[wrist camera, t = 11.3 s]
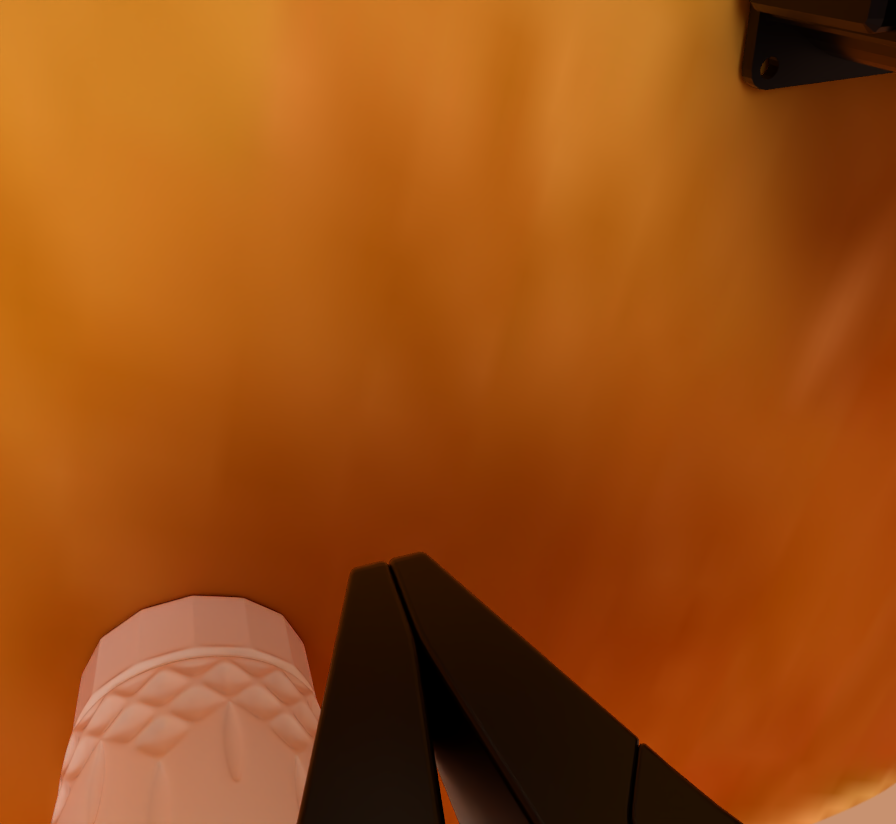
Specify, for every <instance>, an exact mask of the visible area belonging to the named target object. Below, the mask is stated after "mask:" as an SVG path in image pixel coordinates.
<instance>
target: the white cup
mask: <svg viewBox="0 0 896 824" xmlns="http://www.w3.org/2000/svg"><path fill="white" fill-rule="evenodd" d="M320 711H321V709H320V707H319V704H318V702H317V699H316V696H315V691H314V686H313V682H312V677H311V673H310V668H309V664H308V660H307V655H306V651H305V647H304V644H303V642H302V641H301V639H300V638H299V636H298V635H297V634H296V632H295V631H294V630H293V628H292V627H291V626H290V624H289V623H288V622H287V620H286V619H285V617H284V616H283V615H282V614H280V613H277V612H275V611H273V610H270V609H268V608H266V607H264V606H261V605H259V604H257V603H254V602H252V601H250V600H248V599H245V598H241V597H221V596H195V595H194V596H189V597H185V598H181V599H178V600H174V601H170V602H167V603H163V604H160V605H156V606H153V607H149V608H146V609H142V610H140V611H139V612H137V613H136V614H135V615H133V616H132V617H130V618H129V619H127V620H126V621H125V622H123V623H122V624H120V625H119V626H117V627H116V628H115V629H113V630H112V631H110V632H109V633H107V634H106V635H105V636H103V637H102V638H101V639H100V641H99V643H98V645H97V647H96V649H95V651H94V653H93V654H92V656H91V658H90V660H89V662H88V664H87V666H86V668H85V669H84V671H83V673H82V677H81V682H80V688H79V694H78V700H77V706H76V712H75V719H74V725H73V732H72V735H71V737H70V740H69V744H68V747H67V750H66V754H65V758H64V762H63V766H62V770H61V775H60V782H59V790H58V797H57V801H56V805H55V809H54V813H53V817H52V821H51V824H297V819H298V815H299V810H300V805H301V801H302V796H303V791H304V786H305V782H306V777H307V772H308V768H309V763H310V758H311V754H312V749H313V744H314V740H315V735H316V730H317V725H318V721H319V716H320Z"/></svg>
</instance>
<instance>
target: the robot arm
mask: <svg viewBox="0 0 896 824" xmlns="http://www.w3.org/2000/svg"><path fill="white" fill-rule="evenodd" d="M750 2H751V6H750V13H749V21H748V28H747V35H746V42H745V49H744V57H743V64H742V76H743V79H744V81H745V82H746V83H747V84H748V85H750V86H752V87H755V88H758V89H764V90H768V89H775V88H783V87H790V86H797V85H804V84H812V83H819V82H826V81H834V80H841V79H848V78H855V77H863V76H870V75H877V74H884V73H892V72H896V0H750ZM767 58H769V66H768V69H767V70H766V72H765V73H764V74H763V75H761V73H760V69H761V66H762V63H763V62H764V61H765V60H766V59H767ZM638 746H639V747H638ZM436 766H437V767H436ZM437 769H438V771H439V774H440V776H441V779H442V781H443V784H444V786H445V789H446V791H447V794H448V796H449V799H450V801H451V804H452V806H453V809H454V811H455V814H456V816H457V819H458V821H459V824H743V823H742V822H740V821H739V820H737V819H736V818H735V817H733V816H732V815H731V814H729V813H728V812H727V811H725V810H724V809H723V808H721V807H720V806H719V805H717V804H716V803H715V802H714V801H712V800H711V799H710V798H709V797H708V796H706V795H705V794H704V793H703V792H701V791H700V790H699V789H698V788H697V787H695V786H694V785H693V784H692V783H690V782H689V781H688V780H687V779H686V778H684V777H683V776H682V775H681V774H680V773H678V772H677V771H676V770H675V769H673V768H672V767H671V766H670V765H669V764H668V763H667V762H666V761H664V760H663V759H662V758H661V757H660V756H659V755H658V754H656V753H655V752H654V751H653V750H652V749H651V748H650V747H648V746H647V745H646V744H644V743H642V744H640V745H639V739H638V738H637V737H636V736H635V735H634V734H633V733H632V732H631V731H630V730H628V729H627V728H626V727H625V726H624V725H623V724H622V723H620V722H619V721H618V720H617V719H616V718H615V717H614V716H612V715H611V714H610V713H609V712H608V711H607V710H605V709H604V708H603V707H602V706H601V705H600V704H599V703H597V702H596V701H595V700H594V699H593V698H592V697H591V696H589V695H588V694H587V693H586V692H585V691H584V690H582V689H581V688H580V687H579V686H578V685H577V684H576V683H574V682H573V681H572V680H571V679H570V678H569V677H568V676H566V675H565V674H564V673H563V672H562V671H561V670H559V669H558V668H557V667H556V666H555V665H554V664H553V663H551V662H550V661H549V660H548V659H547V658H546V657H545V656H543V655H542V654H541V653H540V652H539V651H538V650H536V649H535V648H534V647H533V646H532V645H531V644H530V643H528V642H527V641H526V640H525V639H524V638H523V637H522V636H520V635H519V634H518V633H517V632H516V631H515V630H513V629H512V628H511V627H510V626H509V625H508V624H507V623H505V622H504V621H503V620H502V619H501V618H500V617H499V616H497V615H496V614H495V613H494V612H493V611H492V610H490V609H489V608H488V607H487V606H486V605H485V604H484V603H482V602H481V601H480V600H479V599H478V598H477V597H476V596H474V595H473V594H472V593H471V592H470V591H469V590H468V589H466V588H465V587H464V586H463V585H462V584H461V583H459V582H458V581H457V580H456V579H455V578H454V577H453V576H451V575H450V574H449V573H448V572H447V571H446V570H445V569H443V568H442V567H441V566H440V565H439V564H438V563H436V562H435V561H434V560H433V559H432V558H431V557H430V556H428V555H427V554H426V553H423V552H416V553H412V554H408V555H404V556H400V557H396V558H393V559H391V560H390V562H389V565H388V564H387V563H386V562H384V561H379V562H375V563H371V564H367V565H363V566H359V567H355V568H354V569H353V570H352V571H351V573H350V576H349V580H348V585H347V589H346V594H345V599H344V603H343V608H342V613H341V618H340V622H339V627H338V632H337V636H336V641H335V646H334V650H333V655H332V660H331V664H330V669H329V674H328V679H327V683H326V688H325V693H324V697H323V702H322V707H321V711H320V716H319V721H318V725H317V730H316V735H315V740H314V744H313V749H312V754H311V758H310V763H309V768H308V772H307V777H306V782H305V786H304V791H303V796H302V801H301V805H300V810H299V815H298V819H297V824H445V819H444V813H443V806H442V800H441V793H440V786H439V780H438V773H437Z"/></svg>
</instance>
